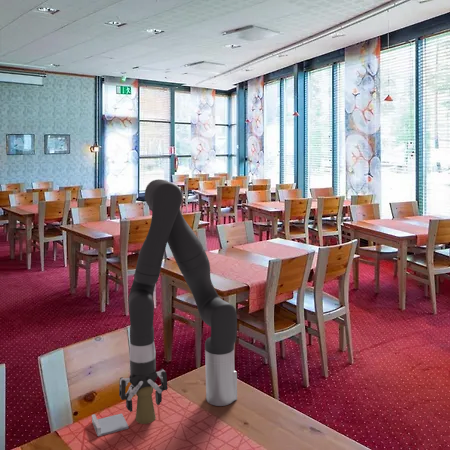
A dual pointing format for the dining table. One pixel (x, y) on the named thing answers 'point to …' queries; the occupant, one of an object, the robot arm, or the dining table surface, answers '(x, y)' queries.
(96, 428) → the rail
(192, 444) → the dining table surface
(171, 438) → the dining table surface
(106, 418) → the slate shelf board
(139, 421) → the cork
